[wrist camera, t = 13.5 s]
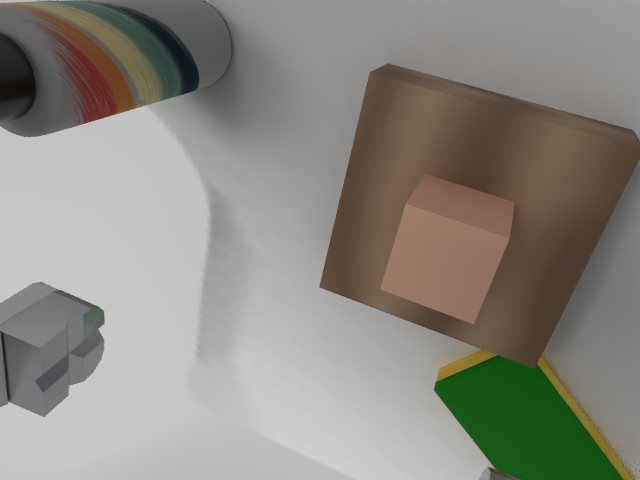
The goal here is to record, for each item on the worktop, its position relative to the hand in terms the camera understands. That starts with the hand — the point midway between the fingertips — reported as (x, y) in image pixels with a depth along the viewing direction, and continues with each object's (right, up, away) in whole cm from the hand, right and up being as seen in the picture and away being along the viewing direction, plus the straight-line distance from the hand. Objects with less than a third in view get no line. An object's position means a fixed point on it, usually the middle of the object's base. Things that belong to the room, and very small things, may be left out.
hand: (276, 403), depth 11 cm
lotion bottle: (-7, +16, +26) cm, 32 cm away
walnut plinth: (+10, +5, +24) cm, 26 cm away
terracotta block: (+9, +4, +21) cm, 23 cm away
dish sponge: (+16, -10, +29) cm, 35 cm away
